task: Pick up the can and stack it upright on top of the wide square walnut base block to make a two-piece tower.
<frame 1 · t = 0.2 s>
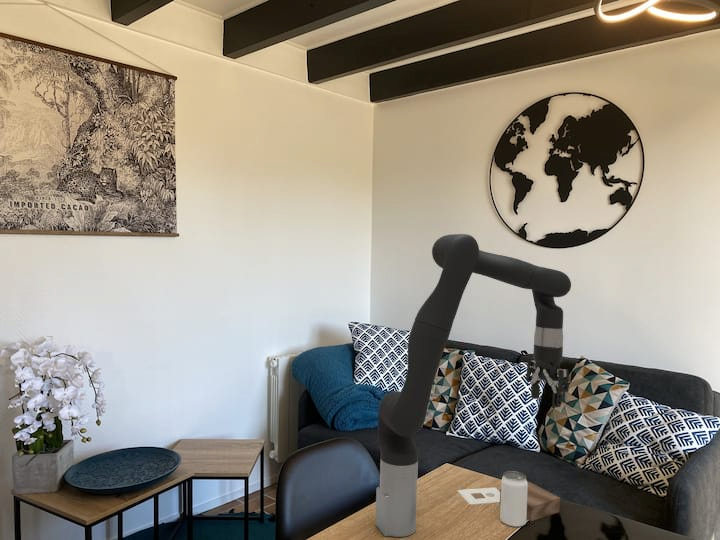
hand: (545, 402, 149), 28 cm above the table, fingers open, 8 cm apart
instruction page: (483, 496, 154), on the table
can: (513, 522, 139), on the table
base block: (529, 507, 147), on the table, touching instruction page
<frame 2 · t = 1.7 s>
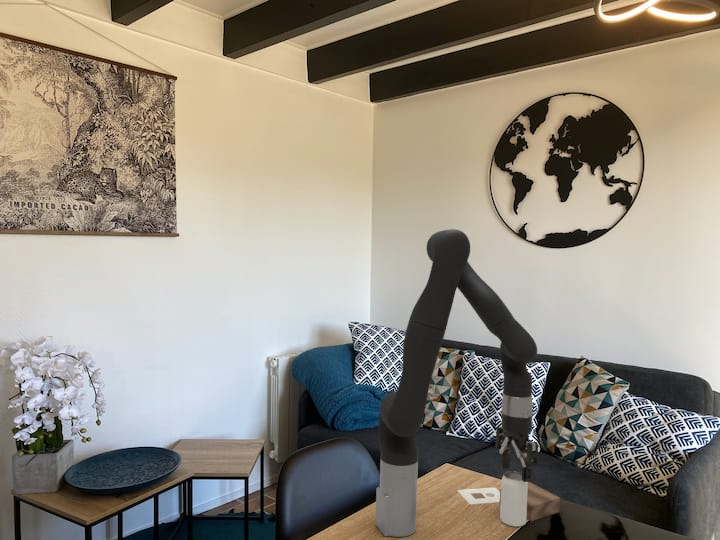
hand: (515, 474, 139), 12 cm above the table, fingers open, 8 cm apart
nothing on the table moved.
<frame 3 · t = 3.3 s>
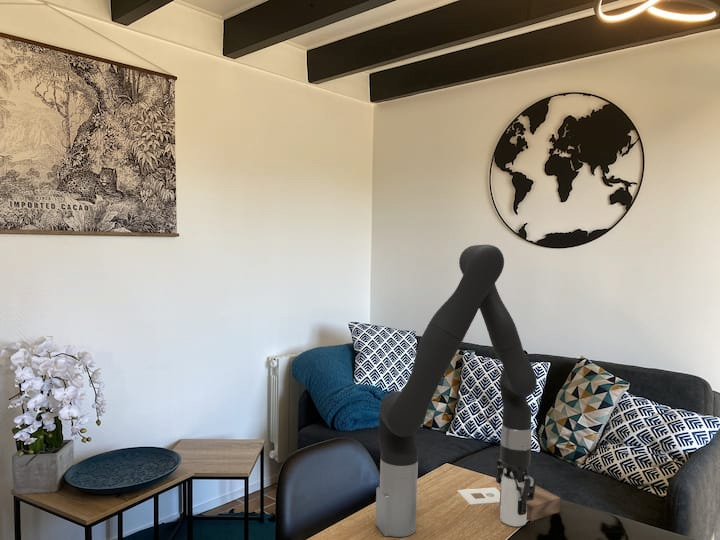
hand: (513, 508, 139), 3 cm above the table, fingers closed on can, 6 cm apart
can: (513, 522, 139), on the table, touching gripper
everything else where it was.
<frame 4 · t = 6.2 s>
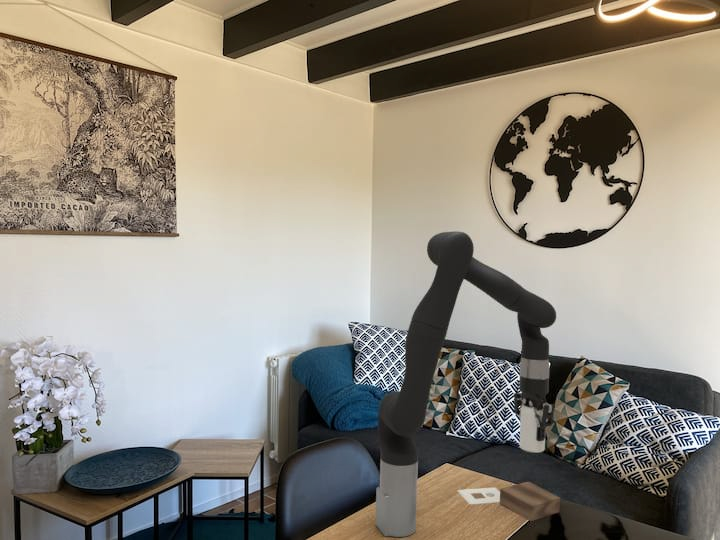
hand: (532, 436, 147), 20 cm above the table, fingers closed on can, 6 cm apart
can: (532, 449, 147), point 16 cm above the table, touching gripper
everything else where it was.
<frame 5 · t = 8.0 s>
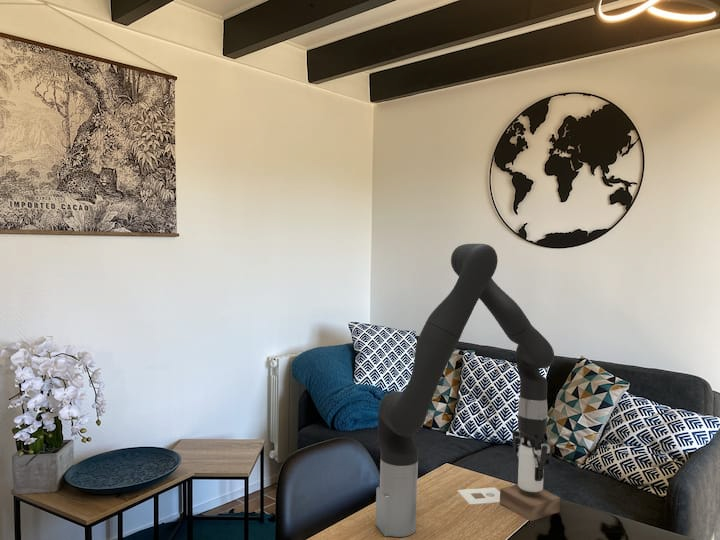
hand: (530, 475, 147), 9 cm above the table, fingers closed on can, 6 cm apart
can: (530, 488, 147), point 5 cm above the table, touching gripper
everything else where it was.
when the fingers open (8 cm above the table, at t = 9.4 s): can stays where it is, resting on base block.
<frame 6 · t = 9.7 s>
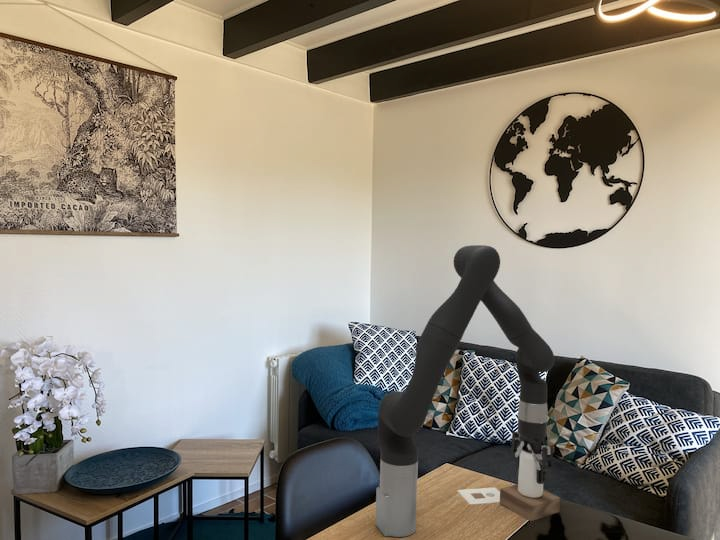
hand: (530, 477, 147), 8 cm above the table, fingers open, 8 cm apart
can: (530, 494, 147), point 4 cm above the table, touching base block
base block: (529, 507, 147), on the table, touching can, instruction page
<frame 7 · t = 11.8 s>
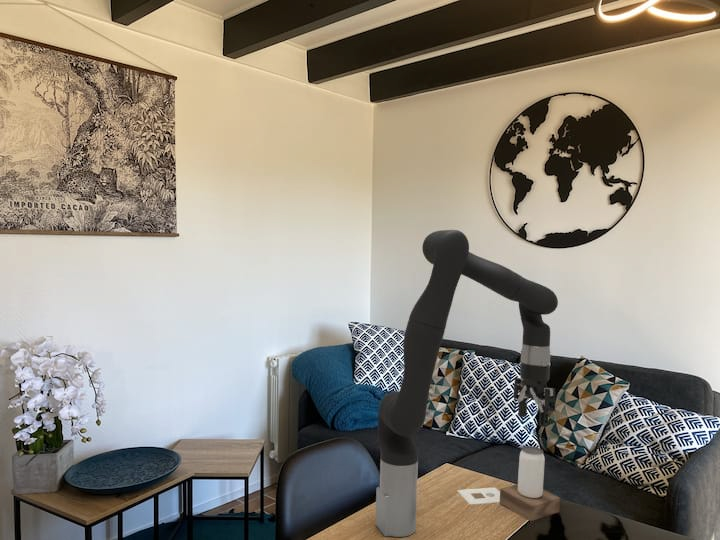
hand: (532, 421, 147), 24 cm above the table, fingers open, 8 cm apart
nothing on the table moved.
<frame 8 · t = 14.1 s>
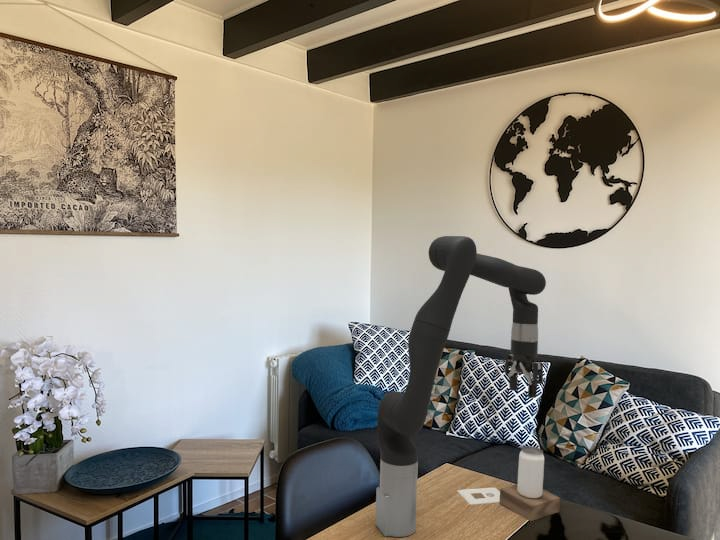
hand: (522, 393, 159), 28 cm above the table, fingers open, 8 cm apart
nothing on the table moved.
at the end: can 0.4 cm off-centre on the base block, point 3.8 cm above the base block's base; can tilted 2°; the gripper is holding nothing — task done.
